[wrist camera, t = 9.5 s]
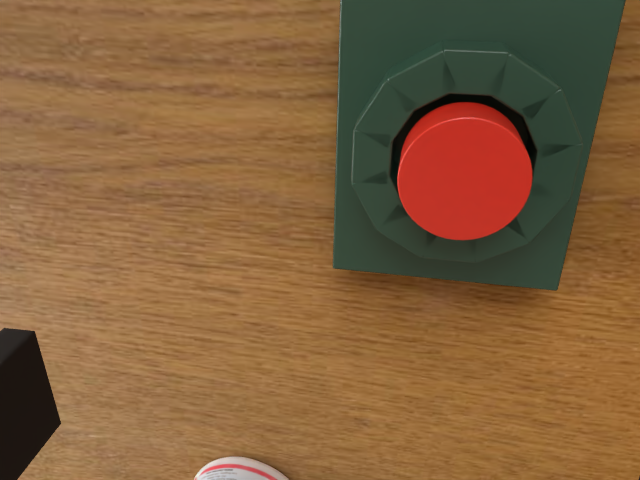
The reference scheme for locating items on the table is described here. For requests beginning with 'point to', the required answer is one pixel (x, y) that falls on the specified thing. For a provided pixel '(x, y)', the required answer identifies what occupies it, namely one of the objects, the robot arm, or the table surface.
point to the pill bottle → (238, 470)
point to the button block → (467, 86)
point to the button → (464, 171)
